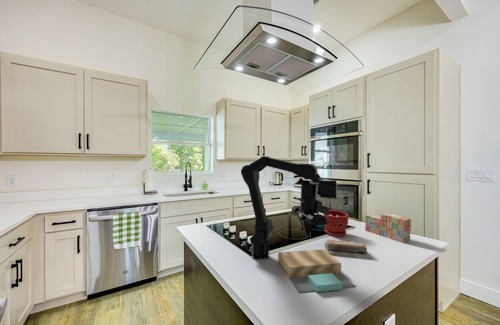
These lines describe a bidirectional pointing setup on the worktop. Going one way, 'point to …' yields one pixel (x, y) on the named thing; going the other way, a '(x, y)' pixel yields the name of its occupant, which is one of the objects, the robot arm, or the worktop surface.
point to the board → (308, 263)
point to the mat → (305, 286)
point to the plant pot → (336, 223)
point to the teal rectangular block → (325, 282)
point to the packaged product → (347, 249)
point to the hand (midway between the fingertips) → (307, 236)
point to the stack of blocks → (389, 226)
